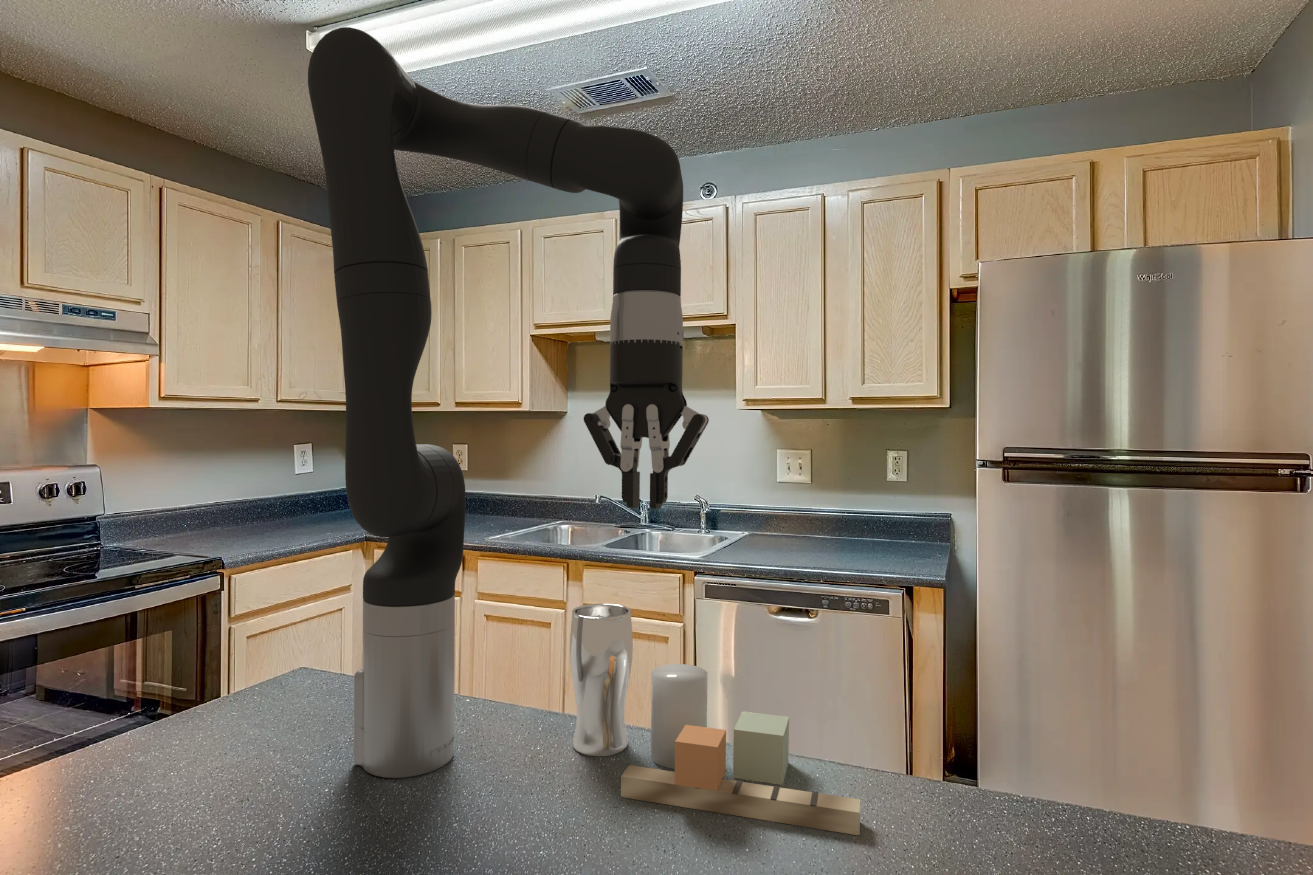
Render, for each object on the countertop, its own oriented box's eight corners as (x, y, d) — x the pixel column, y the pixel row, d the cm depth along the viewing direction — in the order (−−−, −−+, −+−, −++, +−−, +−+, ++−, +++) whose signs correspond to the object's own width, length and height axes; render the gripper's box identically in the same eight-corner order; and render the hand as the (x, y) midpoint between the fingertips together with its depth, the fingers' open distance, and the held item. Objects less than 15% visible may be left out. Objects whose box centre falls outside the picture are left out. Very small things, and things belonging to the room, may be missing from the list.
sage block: (733, 778, 75) (733, 729, 75) (741, 757, 79) (742, 711, 79) (782, 785, 73) (783, 735, 73) (788, 763, 78) (789, 716, 78)
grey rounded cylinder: (643, 764, 77) (644, 678, 77) (659, 741, 83) (660, 661, 83) (699, 772, 76) (700, 685, 76) (711, 748, 81) (712, 667, 81)
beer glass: (623, 761, 78) (624, 620, 78) (560, 755, 79) (561, 616, 79) (637, 734, 85) (639, 604, 84) (579, 729, 86) (581, 601, 86)
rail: (620, 796, 70) (621, 775, 70) (629, 784, 73) (629, 763, 73) (859, 835, 64) (859, 811, 64) (860, 820, 67) (860, 798, 67)
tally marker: (674, 784, 68) (675, 741, 68) (685, 765, 72) (685, 724, 72) (717, 790, 67) (717, 746, 67) (725, 771, 71) (726, 729, 71)
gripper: (570, 338, 75) (568, 509, 75) (703, 334, 71) (701, 515, 71) (597, 346, 82) (595, 502, 82) (719, 343, 78) (717, 507, 78)
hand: (644, 507), depth 77 cm, fingers closed
